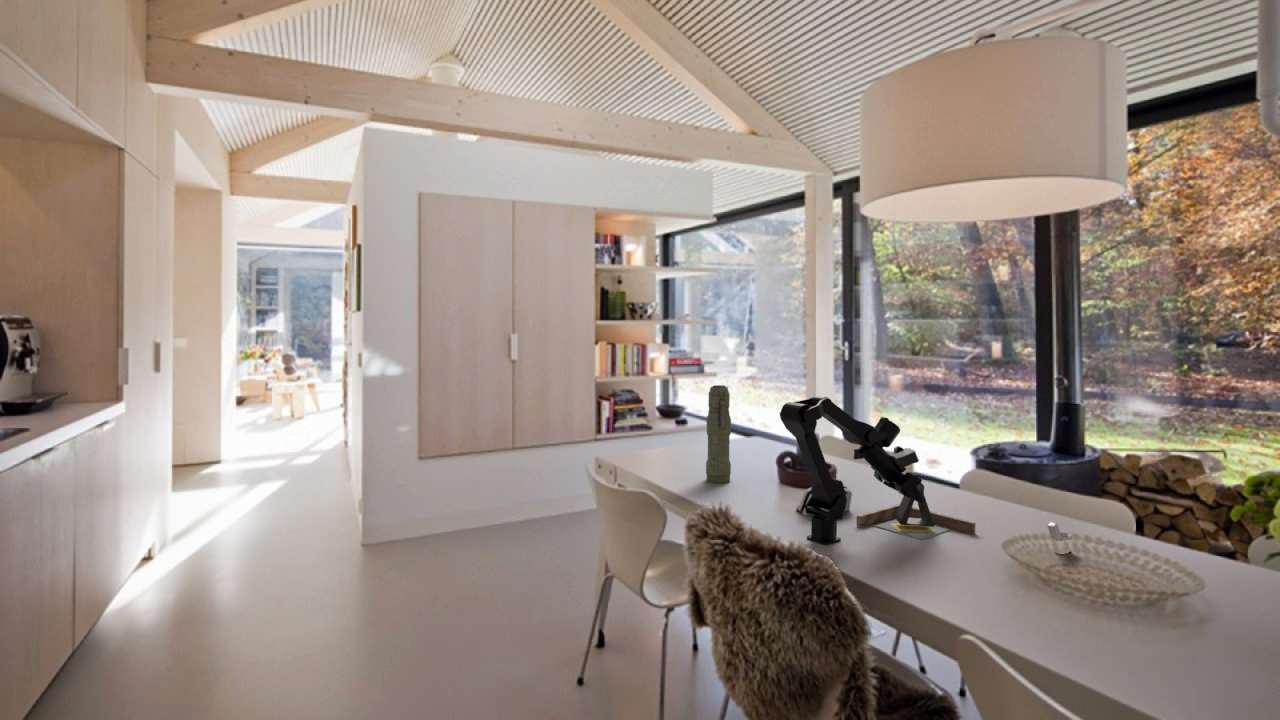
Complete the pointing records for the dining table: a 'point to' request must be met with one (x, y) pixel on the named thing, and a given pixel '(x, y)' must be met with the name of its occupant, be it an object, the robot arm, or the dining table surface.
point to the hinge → (806, 498)
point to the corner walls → (915, 513)
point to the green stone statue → (718, 436)
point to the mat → (912, 529)
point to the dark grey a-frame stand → (905, 510)
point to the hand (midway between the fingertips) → (916, 498)
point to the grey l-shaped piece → (1058, 533)
